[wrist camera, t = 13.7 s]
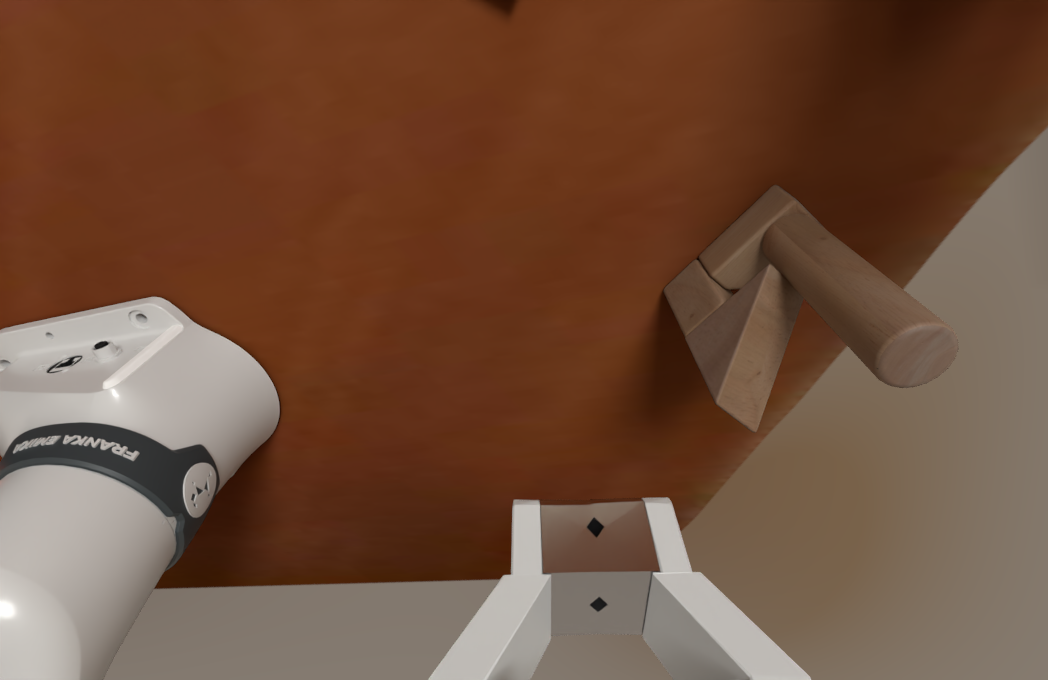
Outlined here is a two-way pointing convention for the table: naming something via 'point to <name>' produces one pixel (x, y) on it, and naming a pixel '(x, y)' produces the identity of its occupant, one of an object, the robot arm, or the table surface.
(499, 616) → the robot arm
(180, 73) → the table surface
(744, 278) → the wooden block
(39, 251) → the table surface
